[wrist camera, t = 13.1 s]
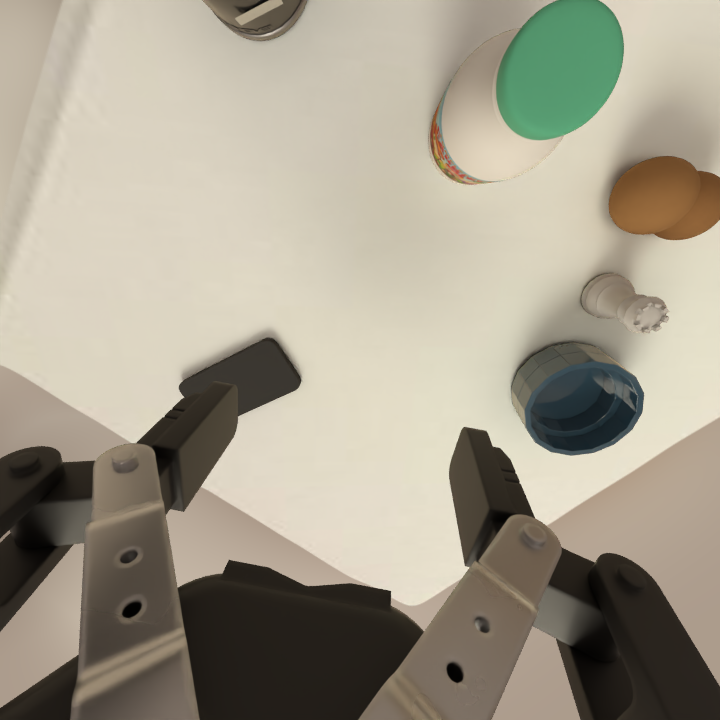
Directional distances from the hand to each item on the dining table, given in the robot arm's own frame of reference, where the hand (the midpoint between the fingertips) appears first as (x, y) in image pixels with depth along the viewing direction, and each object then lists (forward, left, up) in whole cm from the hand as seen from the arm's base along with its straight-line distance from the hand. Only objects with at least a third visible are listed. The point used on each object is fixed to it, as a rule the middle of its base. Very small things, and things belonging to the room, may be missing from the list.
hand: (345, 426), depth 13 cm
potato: (-10, +23, -28) cm, 38 cm away
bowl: (+10, +23, -28) cm, 37 cm away
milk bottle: (-13, +6, -28) cm, 32 cm away
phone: (+17, -15, -28) cm, 36 cm away
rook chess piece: (-1, +23, -28) cm, 36 cm away
